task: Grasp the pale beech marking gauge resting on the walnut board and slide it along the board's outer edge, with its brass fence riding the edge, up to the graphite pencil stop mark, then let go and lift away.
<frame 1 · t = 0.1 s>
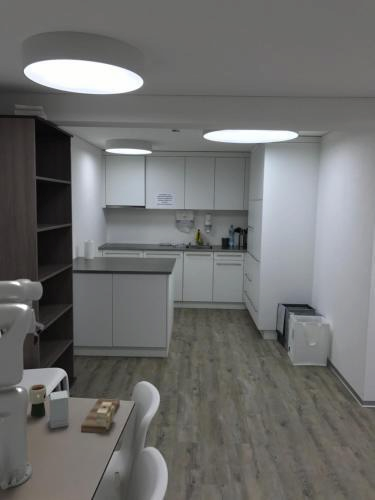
hand: (23, 344, 175), 31 cm above the table, tool pointing down, fingers open, 9 cm apart
character mug: (38, 415, 175), on the table
supplement box: (59, 423, 169), on the table
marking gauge: (104, 420, 167), point 2 cm above the table, touching walnut board
walnut board: (101, 417, 174), on the table
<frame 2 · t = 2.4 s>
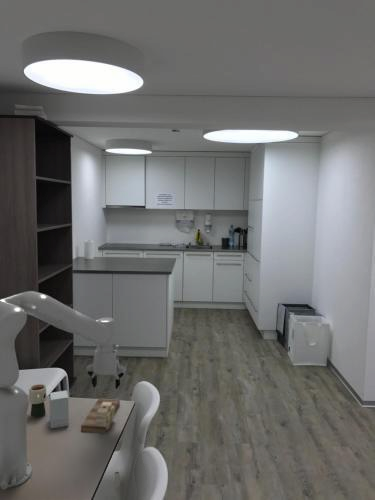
hand: (106, 386, 166), 18 cm above the table, tool pointing down, fingers open, 9 cm apart
nothing on the table moved.
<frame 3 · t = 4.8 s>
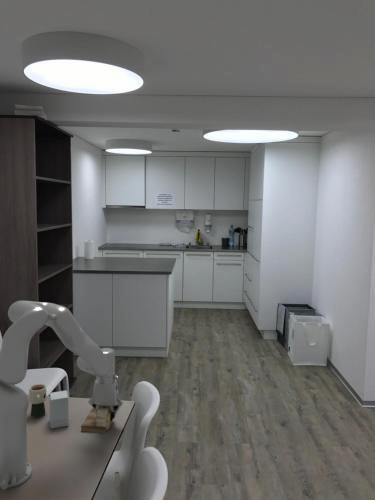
hand: (105, 418, 167), 3 cm above the table, tool pointing down, fingers closed on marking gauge, 5 cm apart
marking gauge: (104, 420, 167), point 2 cm above the table, touching gripper, walnut board
everything else where it was.
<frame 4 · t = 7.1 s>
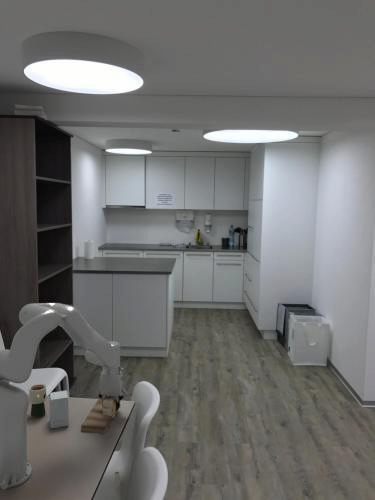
hand: (111, 408, 175), 3 cm above the table, tool pointing down, fingers closed on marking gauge, 5 cm apart
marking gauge: (110, 410, 175), point 3 cm above the table, touching gripper
everything else where it was.
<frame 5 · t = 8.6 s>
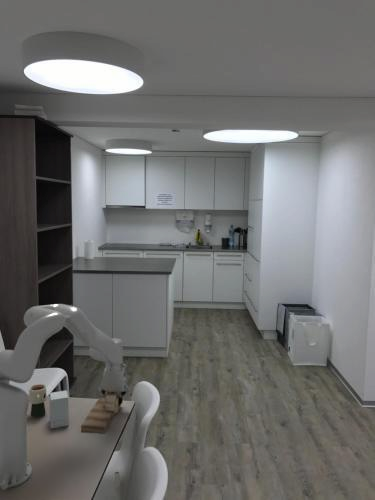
hand: (113, 403, 180), 3 cm above the table, tool pointing down, fingers closed on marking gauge, 5 cm apart
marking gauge: (112, 405, 180), point 3 cm above the table, touching gripper, walnut board
everything else where it was.
when the fingers open (3 cm above the table, at t = 9.5 s): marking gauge stays where it is, resting on walnut board.
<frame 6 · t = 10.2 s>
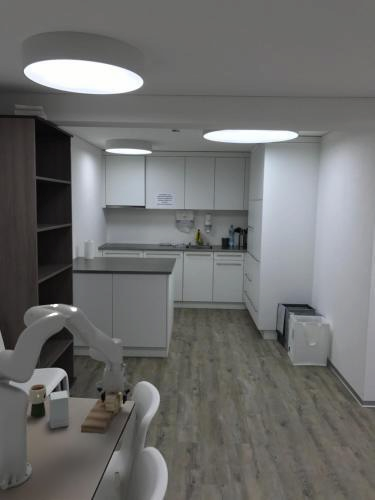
hand: (113, 402, 180), 4 cm above the table, tool pointing down, fingers open, 9 cm apart
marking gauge: (112, 405, 180), point 2 cm above the table, touching walnut board
everything else where it was.
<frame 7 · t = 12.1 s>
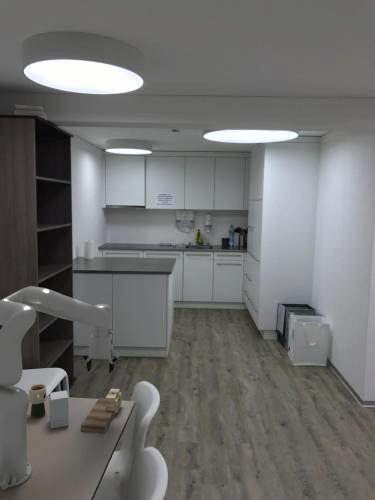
hand: (100, 370, 172), 22 cm above the table, tool pointing down, fingers open, 9 cm apart
nothing on the table moved.
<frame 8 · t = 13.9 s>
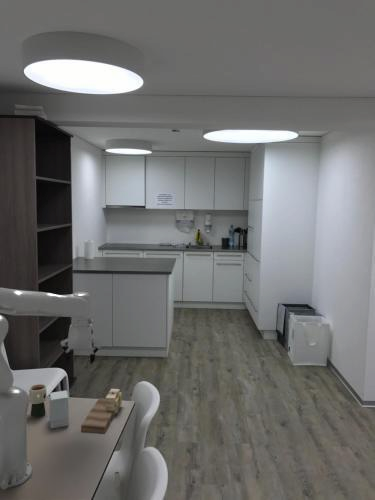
hand: (81, 361, 164), 28 cm above the table, tool pointing down, fingers open, 9 cm apart
nothing on the table moved.
at the end: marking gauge 0.2 cm from the target spot, point 2.5 cm above the table; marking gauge tilted 0°; the gripper is holding nothing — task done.
